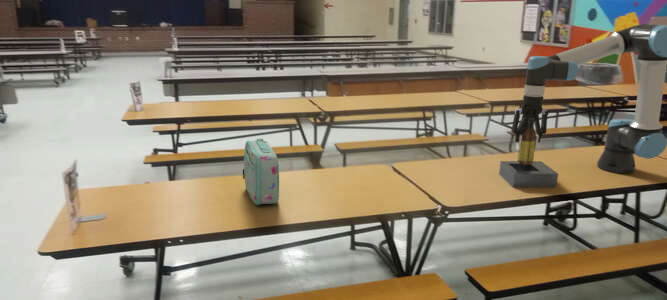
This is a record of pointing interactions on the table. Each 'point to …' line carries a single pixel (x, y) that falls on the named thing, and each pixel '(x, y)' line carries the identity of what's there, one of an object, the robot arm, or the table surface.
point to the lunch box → (261, 172)
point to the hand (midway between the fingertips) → (526, 149)
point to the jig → (528, 174)
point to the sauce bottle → (527, 143)
